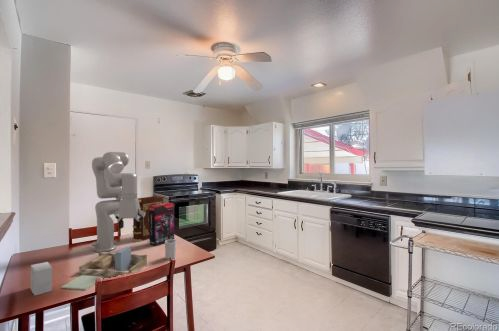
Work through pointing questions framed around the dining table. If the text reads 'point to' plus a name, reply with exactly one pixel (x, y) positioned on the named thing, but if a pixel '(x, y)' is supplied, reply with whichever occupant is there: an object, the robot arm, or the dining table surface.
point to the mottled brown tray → (136, 261)
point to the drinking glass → (170, 248)
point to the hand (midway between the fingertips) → (129, 228)
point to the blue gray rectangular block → (123, 259)
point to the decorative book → (144, 206)
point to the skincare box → (41, 278)
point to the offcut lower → (103, 267)
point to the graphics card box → (161, 223)
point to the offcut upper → (101, 261)
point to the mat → (81, 282)
